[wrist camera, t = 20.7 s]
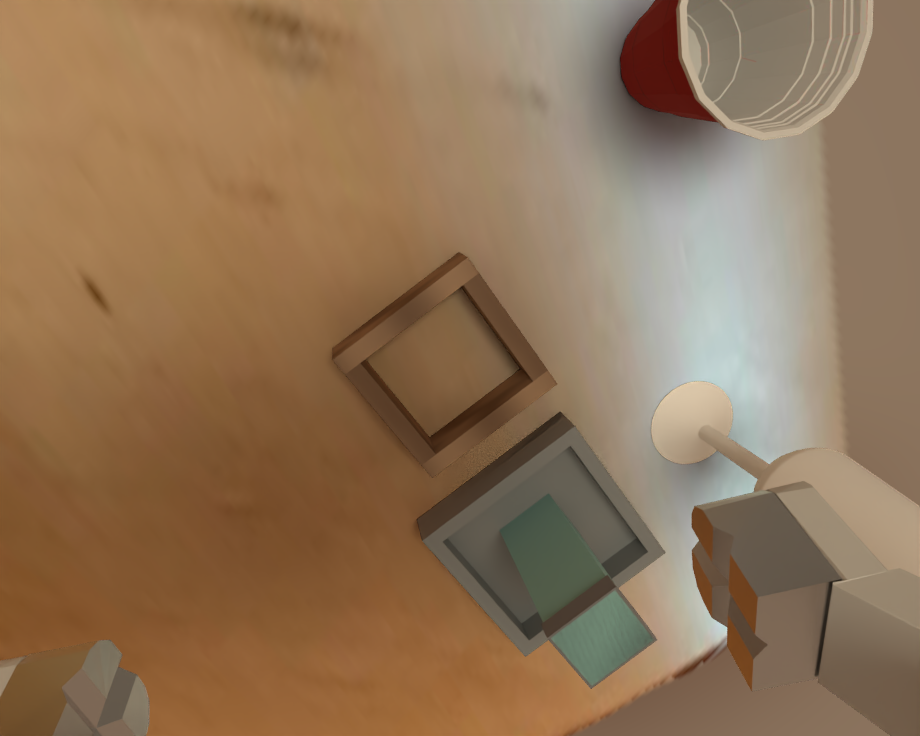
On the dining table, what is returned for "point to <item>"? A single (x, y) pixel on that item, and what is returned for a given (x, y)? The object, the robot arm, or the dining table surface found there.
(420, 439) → the walnut collar
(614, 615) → the pin
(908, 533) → the champagne flute
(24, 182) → the dining table surface
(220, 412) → the dining table surface
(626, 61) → the plastic cup
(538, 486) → the grey tray
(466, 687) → the dining table surface
